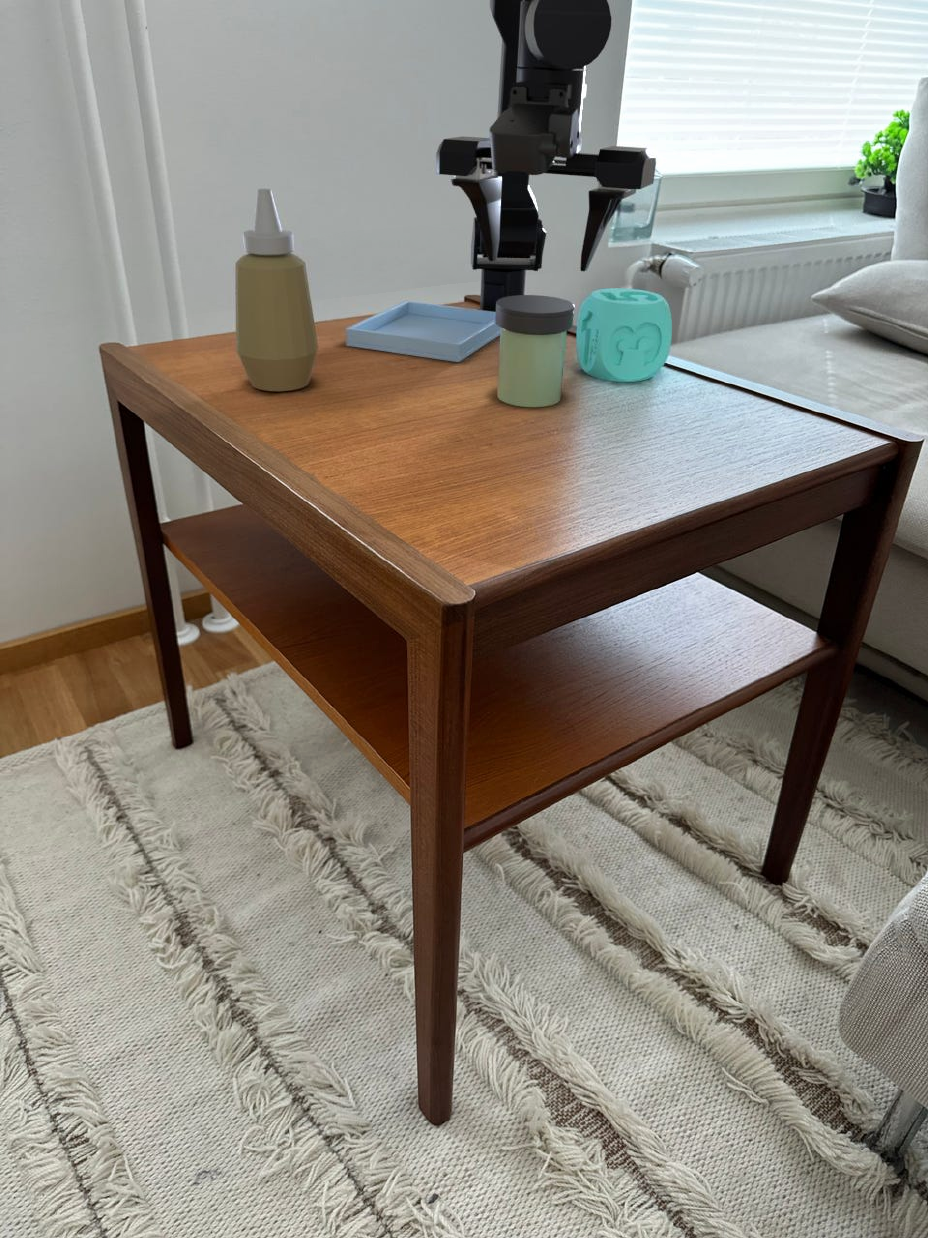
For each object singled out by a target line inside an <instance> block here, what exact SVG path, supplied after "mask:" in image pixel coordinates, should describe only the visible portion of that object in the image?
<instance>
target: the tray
mask: <svg viewBox="0 0 928 1238" xmlns="http://www.w3.org/2000/svg"><path fill="white" fill-rule="evenodd" d="M495 316H496V312H492V311H484V310H478V309H475V308H467V307H459V306H453V305H445V304H435V303H430V302H429V303H428V302H422V301H421V302H420V301H413V300H405V301H402V302H400V303H398V304H396V305H394V306H391V307H389V308H387V309H385V310H383V311H381V312H379V313H376V314H374V315H371V316H369V317H367V318H365V319H363V320H361V321H359V322H357V323H355V324H352V325H349V326H348V327H346V328H345V342H346V343H345V344H346V346H347V347H352V348H360V349H365V350H371V351H372V350H374V351H380V352H385V353H393V354H399V355H407V356H413V357H420V358H427V359H433V360H441V361H447V362H455V363H460V362H462V361H464V359H466V358H468V357H469V356H470V355H472V354H473V353H476V352H477V351H479V350H480V349H481V348H482V347H485V346H486V345H487V344H488V343H490V342H492V341H494V340H495V339H496V338H498V337H500V327H499V326H498V325H496V323H495Z"/></svg>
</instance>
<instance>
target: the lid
mask: <svg viewBox="0 0 928 1238" xmlns="http://www.w3.org/2000/svg"><path fill="white" fill-rule="evenodd" d="M574 316H575V304H574V303H573V302H571V301H570V300H567V299H564V298H560V297H556V296H549V295H539V294H524V295H516V296H508V297H504V298H501V299H499V300H497V301H496V316H495V323H496V325H498V326H499V327H501V328H503V329H506V330H510V331H515V332H521V333H529V334H552V333H559V332H564V331H569V330H571V329H572V328H573V327H574V325H573V324H574Z"/></svg>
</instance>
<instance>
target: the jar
mask: <svg viewBox="0 0 928 1238" xmlns="http://www.w3.org/2000/svg"><path fill="white" fill-rule="evenodd" d="M567 331H568V330H567ZM567 331H564V332H559V333H552V334H529V333H521V332H515V331H510V330H506V329H503V328H501V327H500V335H499V350H498V366H497V367H498V368H497V386H496V387H497V389H496V390H497V391H496V397H497V399H498V400H499V401H500V402H503V403H505V404H508V405H511V406H514V407H522V408H544V407H550V406H554V405H556V404H558V403H559V402H560V401H561V398H562V388H563V375H564V365H565V355H566V354H565V353H566V342H567V334H568V333H567Z"/></svg>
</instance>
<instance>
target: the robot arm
mask: <svg viewBox="0 0 928 1238" xmlns="http://www.w3.org/2000/svg"><path fill="white" fill-rule="evenodd" d="M609 4H610V3H609V2H608V0H489V9H490V12H491V15H492V19H493V21H494V23H495V26H496V28H497V30H498V32H499V35H500V37H501V51H500V66H499V68H500V69H499V85H498V101H497V103H498V104H497V117H496V119H495V121H494V122H493V123H492V125H491V126H490V127H489V137H479V136H477V137H476V136H465V135H463V136H456V137H449V138H443V139H442V141H441V142H440V143H439V145H438V147H437V150H436V153H435V174H437V175H444V176H454V178H450V182H451V185H452V186H453V187H459V188H460V189H461V190H462V191H463V193H464V194H465V196H467V198H468V200H469V201H470V204H471V207H472V209H473V211H474V214H475V217H473V222H472V233H471V243H470V265H471V268H472V271H473V270H475V271H476V270H481V271H480V272H481V274H480V298H479V299H480V300H479V301H480V302H479V308H477V310H484V311H492V312H496V301H497V300H499V299H501V298H504V297H508V296H516V295H525V291H526V274H527V271H533V272H538V271H539V270H540V269H542V267H543V256H544V255H543V254H544V250H545V243H546V238H547V231H546V230H545V229H544V225H543V220H542V218H539V217H540V212H539V209H538V205H537V202H536V198H535V195H534V194H533V191H532V189H531V187H530V185H529V182H530V176H541V175H544V174H549V175H562V176H575V177H588V178H589V177H590V178H596V182H597V187H595V188H593V189H590V190H588V213H587V217H586V218H587V219H586V226H585V230H584V236H583V240H582V241H583V242H582V247H581V253H580V272H586V271H588V269H589V267H590V264H591V262H592V260H593V257H594V255H595V253H596V251H597V249H598V246H599V244H600V242H601V239H602V237H603V235H604V233H605V232H606V229H607V227H608V224H609V222H610V220H612V218H613V216H614V214H615V212H616V211H617V209H618V207H619V205H620V204H621V202H622V201H623V200H624V199H627V198H628V197H631V196H633V195H636V193H637V190H642V189H644V188H646V187H649V186H651V185H653V184H654V181H655V174H656V165H657V159H656V158H657V157H656V156H657V155H656V154H655V153H654V152H653V149H652V148H650V147H634V146H620V145H611V146H608V147H604V148H600V149H599V151H598V153H589V152H588V153H587V152H585V153H584V152H582V142H583V141H582V140H583V138H582V137H581V122H582V112H583V111H582V110H583V101H584V100H583V99H586V95H587V83H585V77H586V66H588V65H590V64H592V63H593V62H594V61H595V60H596V59H597V58H598V57H599V56H600V54H601V53H602V52H603V50H604V49H605V47H606V45H607V43H608V40H609V39H610V33H611V30H612V14H611V9H610V5H609ZM478 256H482V257H478Z"/></svg>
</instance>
